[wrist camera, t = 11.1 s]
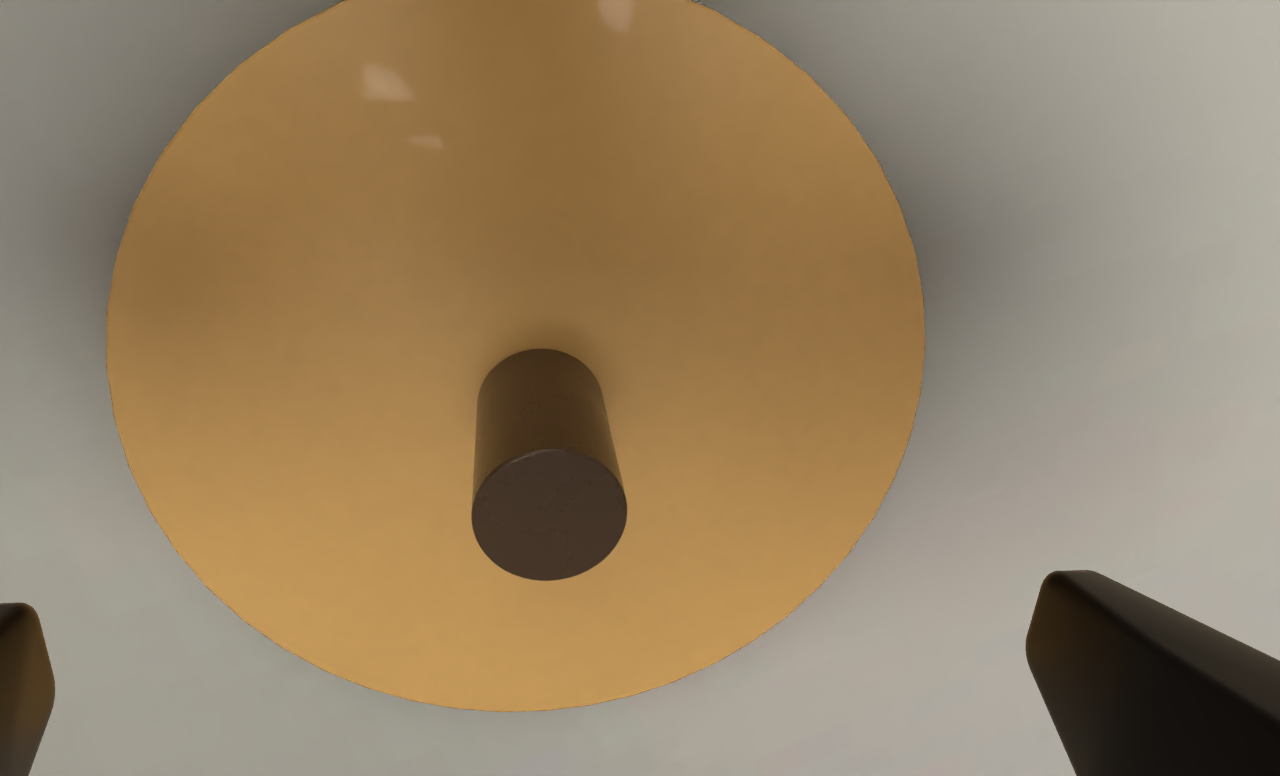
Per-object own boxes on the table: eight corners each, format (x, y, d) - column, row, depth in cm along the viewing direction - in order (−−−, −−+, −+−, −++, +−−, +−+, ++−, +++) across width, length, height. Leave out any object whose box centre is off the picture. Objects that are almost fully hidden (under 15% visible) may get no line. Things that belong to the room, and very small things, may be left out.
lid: (51, 579, 19) (-88, 772, 15) (252, -215, 14) (134, -297, 10) (709, 739, 24) (759, 927, 19) (1044, 176, 19) (1223, 248, 14)
